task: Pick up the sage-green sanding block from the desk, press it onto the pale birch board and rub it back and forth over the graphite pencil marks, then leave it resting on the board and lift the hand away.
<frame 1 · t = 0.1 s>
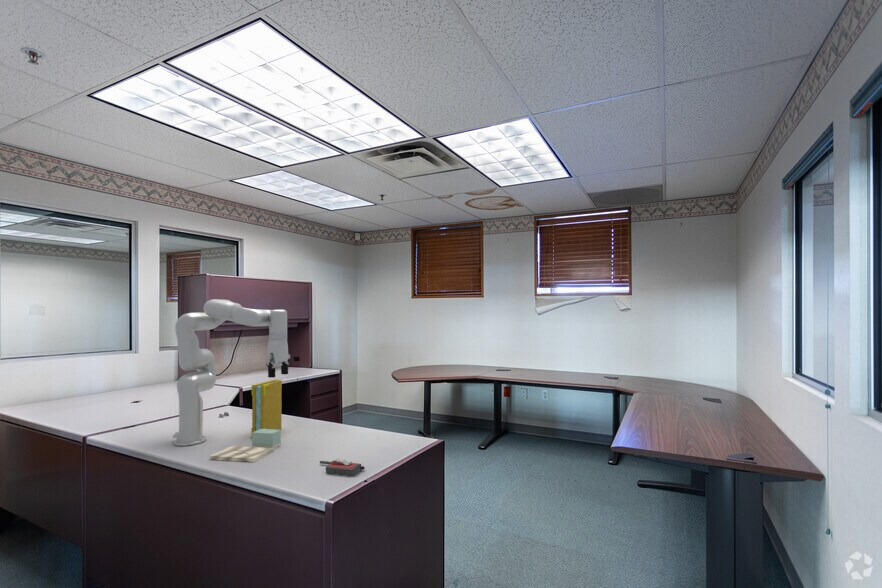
hand: (278, 375, 185), 31 cm above the table, tool pointing down, fingers open, 9 cm apart
walkie-talkie: (337, 471, 153), on the table
board: (242, 455, 172), on the table
book: (268, 434, 204), on the table
sanding block: (266, 447, 183), on the table
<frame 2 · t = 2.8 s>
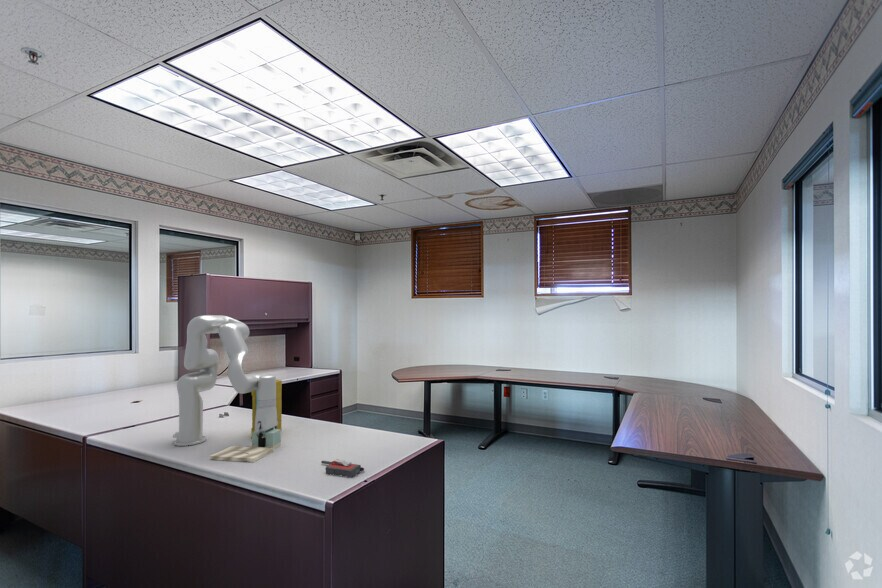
hand: (266, 444, 183), 1 cm above the table, tool pointing down, fingers closed on sanding block, 6 cm apart
sanding block: (266, 446, 183), on the table, touching gripper
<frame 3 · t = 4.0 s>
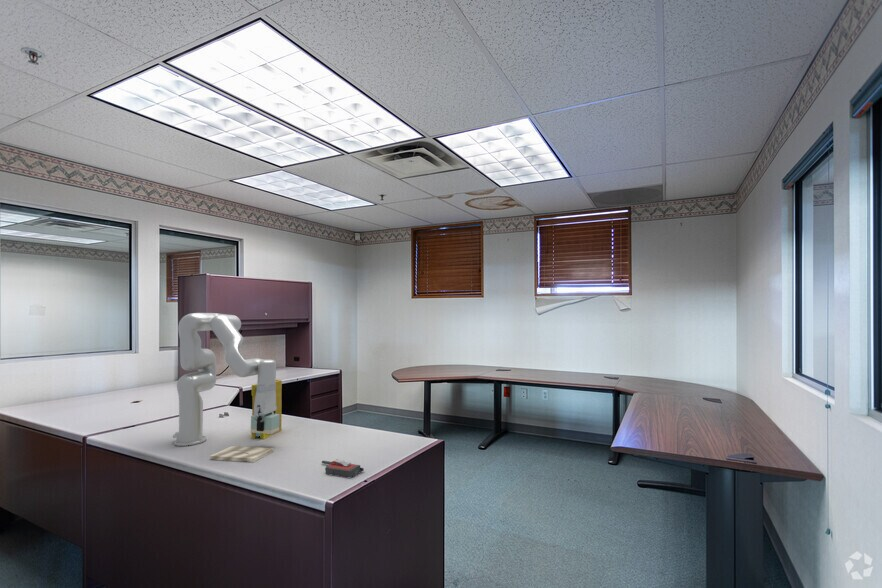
hand: (265, 428, 184), 8 cm above the table, tool pointing down, fingers closed on sanding block, 6 cm apart
sanding block: (265, 431, 183), point 7 cm above the table, touching gripper
everything else where it was.
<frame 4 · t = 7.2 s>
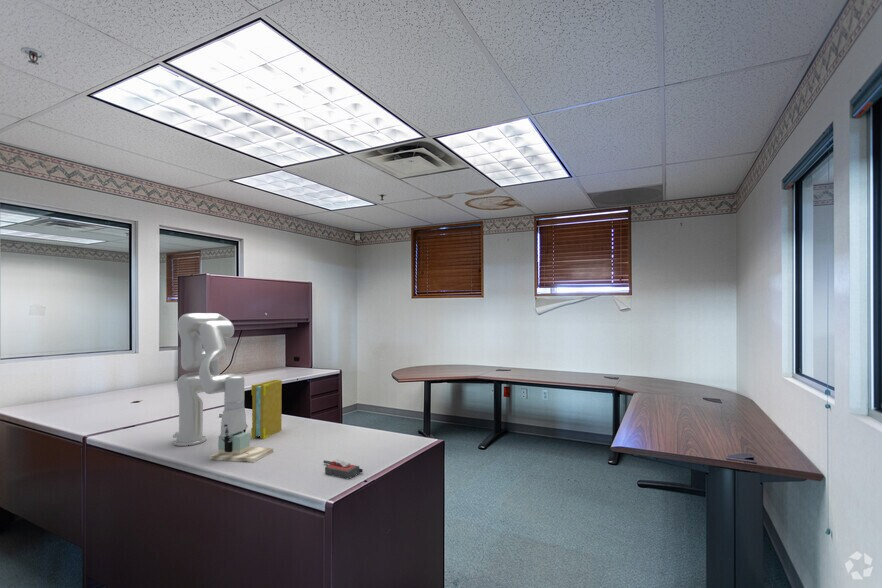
hand: (234, 448, 173), 3 cm above the table, tool pointing down, fingers closed on sanding block, 6 cm apart
sanding block: (234, 451, 173), point 2 cm above the table, touching board, gripper
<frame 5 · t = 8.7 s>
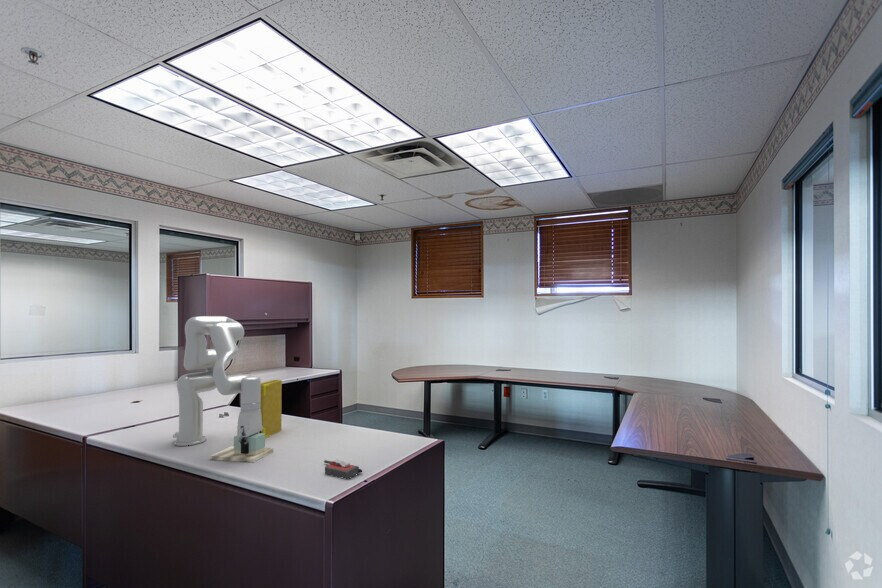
hand: (250, 450, 171), 2 cm above the table, tool pointing down, fingers closed on sanding block, 6 cm apart
sanding block: (249, 452, 171), point 2 cm above the table, touching board, gripper
when the fingers open (2 cm above the table, at t = 11.5 s): sanding block stays where it is, resting on board.
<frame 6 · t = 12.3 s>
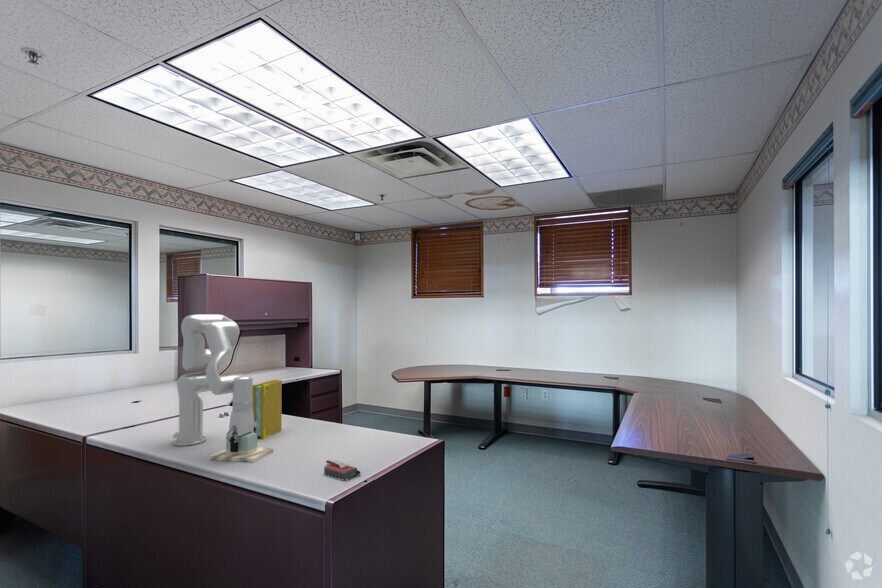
hand: (242, 448, 172), 3 cm above the table, tool pointing down, fingers open, 9 cm apart
sanding block: (241, 451, 172), point 2 cm above the table, touching board
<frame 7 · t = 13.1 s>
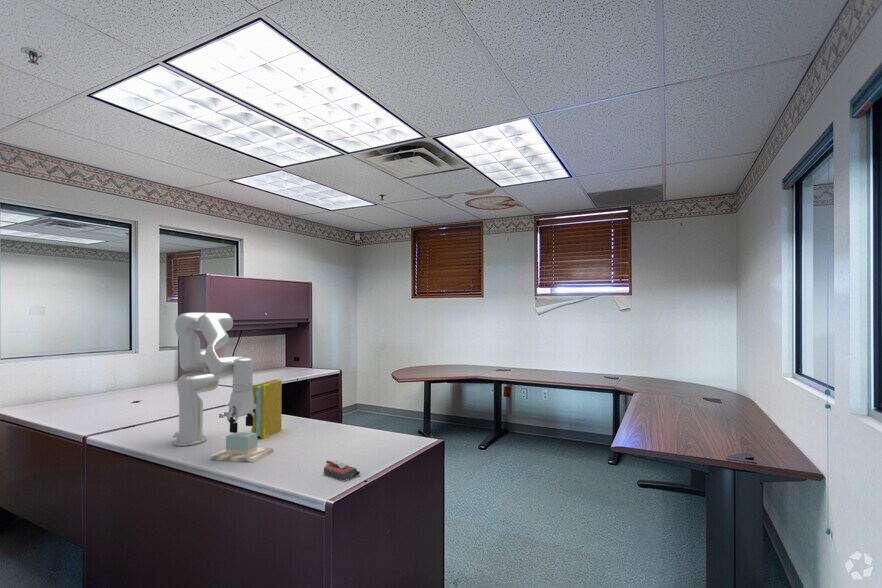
hand: (241, 429, 173), 11 cm above the table, tool pointing down, fingers open, 9 cm apart
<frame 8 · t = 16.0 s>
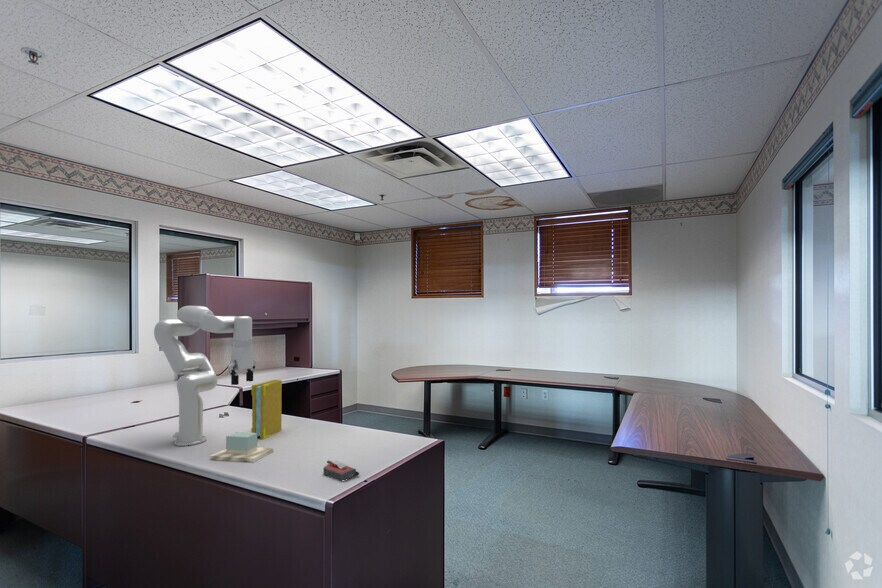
hand: (242, 382, 184), 28 cm above the table, tool pointing down, fingers open, 9 cm apart
at the end: sanding block inside the target area on the board (0.3 cm from its centre), point 1.5 cm above the board's base; sanding block tilted 0°; the gripper is holding nothing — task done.
